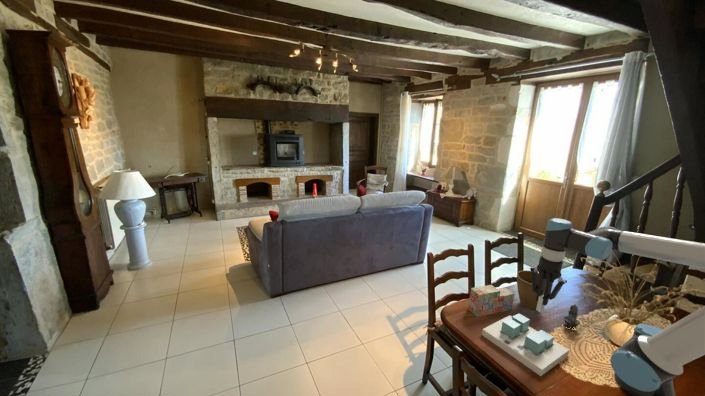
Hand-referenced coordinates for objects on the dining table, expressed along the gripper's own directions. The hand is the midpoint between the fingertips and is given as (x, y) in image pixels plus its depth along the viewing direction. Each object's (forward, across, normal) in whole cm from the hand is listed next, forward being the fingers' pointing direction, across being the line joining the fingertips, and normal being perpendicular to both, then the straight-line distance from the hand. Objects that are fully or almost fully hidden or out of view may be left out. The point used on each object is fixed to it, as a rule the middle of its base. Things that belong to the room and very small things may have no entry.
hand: (539, 310), depth 118 cm
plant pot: (+18, +17, -27) cm, 37 cm away
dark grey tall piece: (+17, -2, -27) cm, 32 cm away
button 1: (+14, +7, +6) cm, 17 cm away
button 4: (+16, -3, -1) cm, 16 cm away
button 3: (+14, -3, +6) cm, 15 cm away
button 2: (+14, +7, -1) cm, 16 cm away
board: (+17, +2, +4) cm, 18 cm away
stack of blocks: (+18, +24, -6) cm, 31 cm away
